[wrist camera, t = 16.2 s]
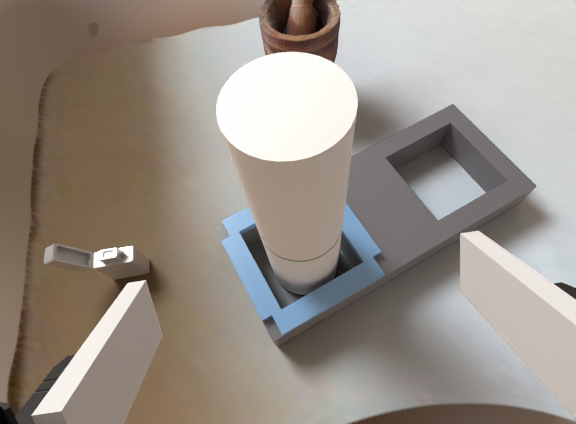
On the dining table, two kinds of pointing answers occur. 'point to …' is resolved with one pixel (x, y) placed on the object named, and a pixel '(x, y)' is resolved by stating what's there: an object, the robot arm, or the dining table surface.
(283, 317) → the socket rack
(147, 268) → the lighter
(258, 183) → the cylindrical container
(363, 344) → the dining table surface
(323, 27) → the mortar and pestle
